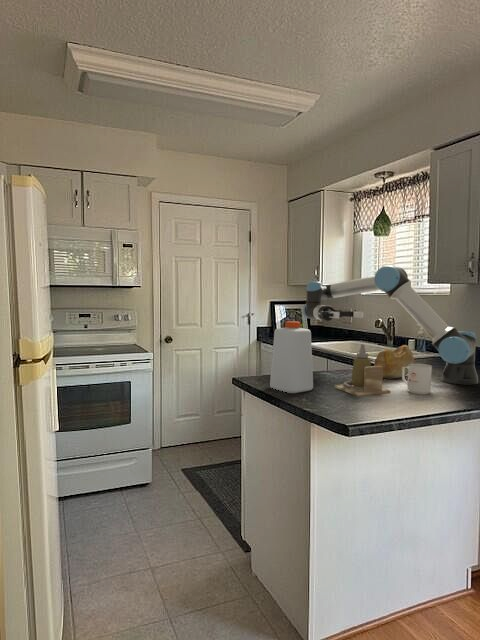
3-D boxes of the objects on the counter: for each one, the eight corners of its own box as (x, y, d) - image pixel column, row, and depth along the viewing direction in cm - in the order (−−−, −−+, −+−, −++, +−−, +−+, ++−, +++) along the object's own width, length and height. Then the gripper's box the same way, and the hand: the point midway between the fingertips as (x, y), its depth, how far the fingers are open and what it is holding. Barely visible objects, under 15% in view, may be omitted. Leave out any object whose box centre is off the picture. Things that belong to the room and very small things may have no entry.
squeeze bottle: (360, 390, 180) (362, 346, 179) (347, 386, 187) (348, 343, 186) (375, 388, 184) (377, 345, 182) (361, 384, 191) (363, 342, 190)
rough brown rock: (390, 372, 231) (388, 343, 231) (419, 374, 218) (418, 344, 218) (361, 378, 218) (359, 348, 217) (391, 381, 204) (389, 349, 204)
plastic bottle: (265, 388, 187) (266, 321, 185) (291, 383, 196) (293, 320, 194) (290, 395, 175) (292, 323, 173) (317, 390, 184) (319, 322, 182)
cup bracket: (333, 387, 190) (334, 361, 189) (364, 384, 196) (365, 359, 195) (357, 395, 175) (358, 368, 174) (390, 392, 181) (391, 365, 180)
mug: (434, 392, 182) (435, 365, 182) (424, 395, 177) (425, 368, 176) (407, 387, 192) (408, 361, 191) (396, 390, 186) (397, 363, 185)
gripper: (344, 320, 228) (372, 323, 209) (302, 320, 218) (327, 324, 199) (345, 305, 228) (373, 306, 208) (302, 305, 218) (328, 307, 198)
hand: (351, 315), depth 203 cm, fingers open, 13 cm apart
